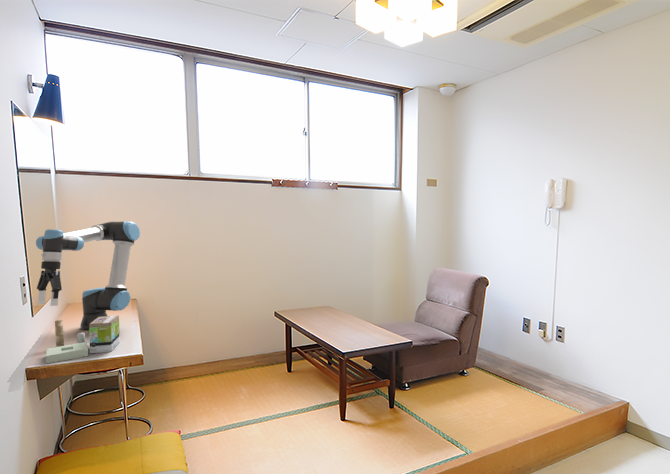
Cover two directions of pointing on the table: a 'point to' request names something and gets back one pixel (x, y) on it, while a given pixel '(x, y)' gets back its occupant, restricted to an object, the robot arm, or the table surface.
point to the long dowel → (59, 333)
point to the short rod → (81, 337)
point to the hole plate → (66, 352)
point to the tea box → (104, 334)
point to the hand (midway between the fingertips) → (47, 304)
